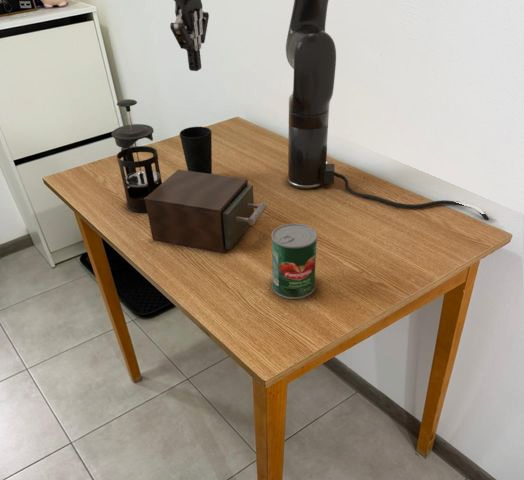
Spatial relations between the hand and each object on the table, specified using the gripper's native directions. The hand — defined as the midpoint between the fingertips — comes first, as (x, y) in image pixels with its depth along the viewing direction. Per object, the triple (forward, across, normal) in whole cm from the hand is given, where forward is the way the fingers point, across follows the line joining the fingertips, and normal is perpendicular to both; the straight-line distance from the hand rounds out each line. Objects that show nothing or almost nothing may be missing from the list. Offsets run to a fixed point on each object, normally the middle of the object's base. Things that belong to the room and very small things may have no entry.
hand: (195, 69), depth 106 cm
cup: (+27, +5, +4) cm, 28 cm away
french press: (+27, -10, +12) cm, 31 cm away
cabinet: (+27, -18, -7) cm, 33 cm away
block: (+25, -18, -11) cm, 33 cm away
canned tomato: (+27, -32, -32) cm, 53 cm away
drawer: (+26, -18, -11) cm, 33 cm away
